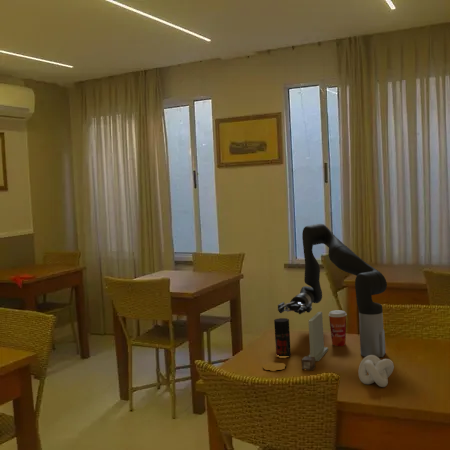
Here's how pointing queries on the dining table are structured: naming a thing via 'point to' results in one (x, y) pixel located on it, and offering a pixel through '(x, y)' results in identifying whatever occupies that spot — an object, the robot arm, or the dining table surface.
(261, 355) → the dining table surface
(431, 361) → the dining table surface
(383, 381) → the white knot sculpture
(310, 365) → the letter cube
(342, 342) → the paper cup
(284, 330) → the deodorant
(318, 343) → the screen
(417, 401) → the dining table surface
